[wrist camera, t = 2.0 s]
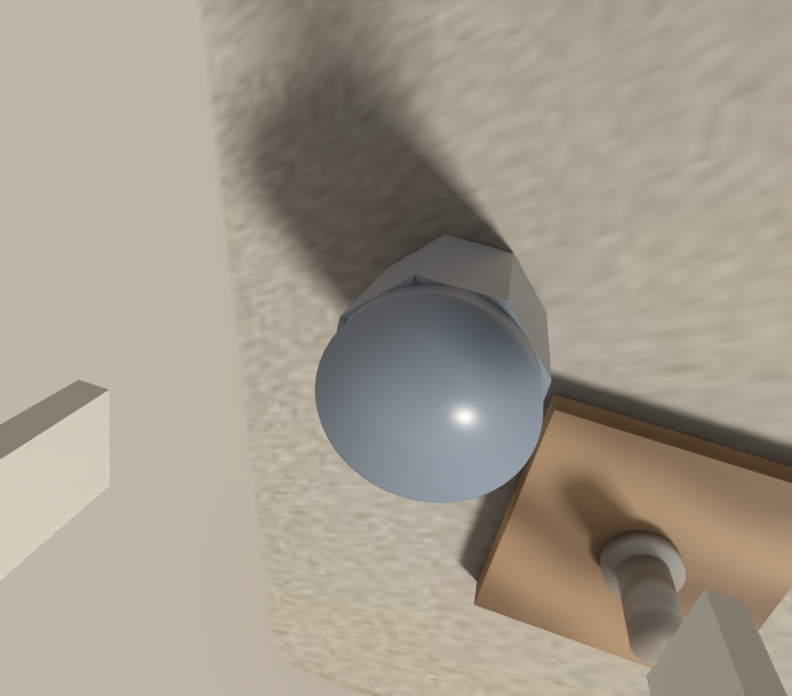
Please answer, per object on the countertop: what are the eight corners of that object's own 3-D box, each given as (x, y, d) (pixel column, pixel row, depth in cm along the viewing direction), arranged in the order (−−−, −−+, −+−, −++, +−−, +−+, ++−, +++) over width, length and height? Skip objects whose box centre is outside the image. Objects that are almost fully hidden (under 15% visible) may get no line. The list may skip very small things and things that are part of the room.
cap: (397, 221, 23) (335, 268, 15) (563, 267, 22) (579, 339, 15) (365, 366, 25) (300, 462, 18) (509, 411, 25) (501, 530, 18)
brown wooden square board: (553, 393, 24) (559, 471, 19) (836, 480, 23) (930, 591, 17) (476, 582, 29) (464, 685, 24) (704, 662, 28) (745, 790, 22)
